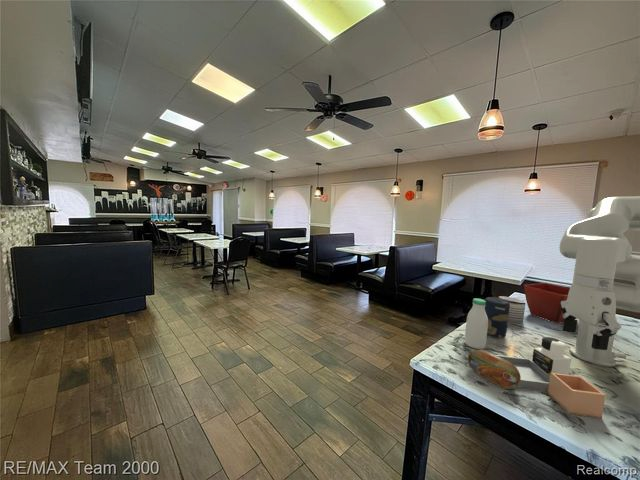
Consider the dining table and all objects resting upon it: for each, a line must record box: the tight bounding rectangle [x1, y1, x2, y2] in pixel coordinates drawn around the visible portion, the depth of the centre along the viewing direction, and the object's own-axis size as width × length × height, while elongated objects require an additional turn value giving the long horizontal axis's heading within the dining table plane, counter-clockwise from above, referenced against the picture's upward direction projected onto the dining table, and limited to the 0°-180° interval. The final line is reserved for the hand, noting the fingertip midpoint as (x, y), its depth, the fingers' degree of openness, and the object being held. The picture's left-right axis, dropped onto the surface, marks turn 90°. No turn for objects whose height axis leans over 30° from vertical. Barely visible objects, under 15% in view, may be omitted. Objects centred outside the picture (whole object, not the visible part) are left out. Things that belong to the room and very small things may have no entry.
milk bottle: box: [464, 297, 488, 350], centre depth 104 cm, size 8×8×20 cm
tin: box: [467, 349, 521, 390], centre depth 83 cm, size 15×3×8 cm, turn 32°
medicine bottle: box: [531, 336, 572, 376], centre depth 88 cm, size 7×7×12 cm
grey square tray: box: [494, 354, 550, 392], centre depth 86 cm, size 14×14×2 cm
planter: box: [547, 373, 606, 419], centre depth 72 cm, size 8×8×7 cm
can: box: [498, 295, 527, 325], centre depth 132 cm, size 11×11×12 cm
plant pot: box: [523, 282, 570, 324], centre depth 136 cm, size 19×19×17 cm
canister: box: [484, 296, 510, 339], centre depth 114 cm, size 10×10×18 cm
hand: (583, 339), depth 70 cm, fingers open, 9 cm apart
